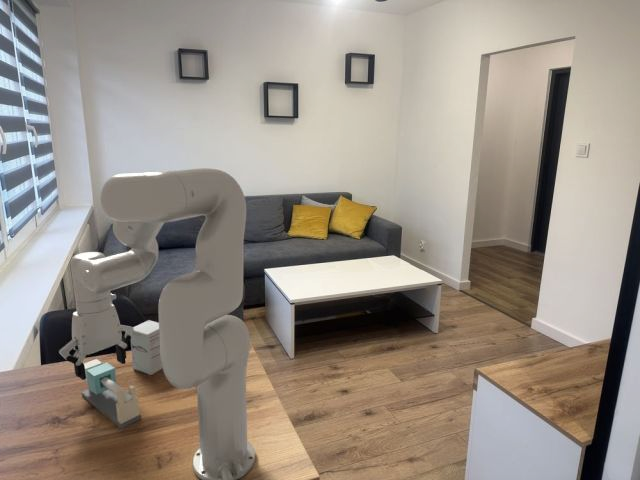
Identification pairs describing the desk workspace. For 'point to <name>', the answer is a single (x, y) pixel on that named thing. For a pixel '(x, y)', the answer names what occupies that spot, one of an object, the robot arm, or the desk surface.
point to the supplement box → (146, 347)
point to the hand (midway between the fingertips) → (102, 369)
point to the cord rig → (113, 400)
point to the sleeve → (98, 373)
